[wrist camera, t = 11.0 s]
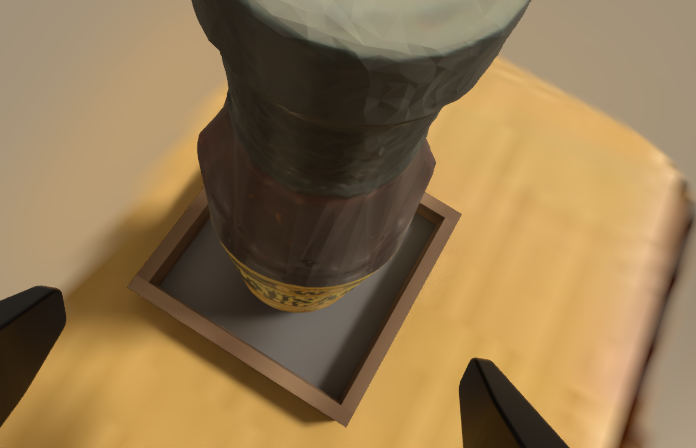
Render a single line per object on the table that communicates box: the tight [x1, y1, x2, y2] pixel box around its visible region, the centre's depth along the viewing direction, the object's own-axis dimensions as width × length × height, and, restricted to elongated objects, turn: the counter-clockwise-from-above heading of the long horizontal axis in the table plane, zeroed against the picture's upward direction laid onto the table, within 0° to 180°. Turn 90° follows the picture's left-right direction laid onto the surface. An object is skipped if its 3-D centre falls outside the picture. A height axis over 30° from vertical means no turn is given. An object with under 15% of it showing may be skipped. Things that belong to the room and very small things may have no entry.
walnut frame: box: [127, 187, 462, 427], centre depth 23 cm, size 12×12×2 cm
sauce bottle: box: [192, 0, 531, 313], centre depth 14 cm, size 6×6×20 cm
